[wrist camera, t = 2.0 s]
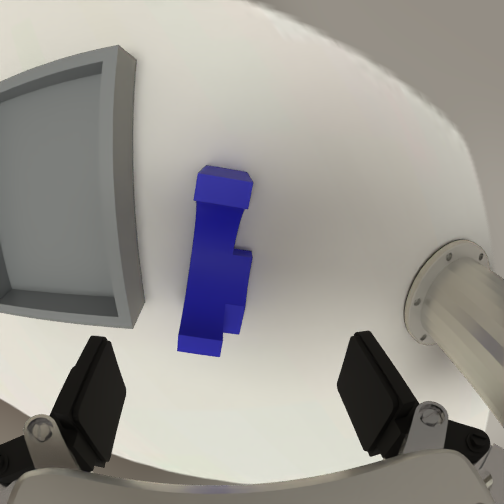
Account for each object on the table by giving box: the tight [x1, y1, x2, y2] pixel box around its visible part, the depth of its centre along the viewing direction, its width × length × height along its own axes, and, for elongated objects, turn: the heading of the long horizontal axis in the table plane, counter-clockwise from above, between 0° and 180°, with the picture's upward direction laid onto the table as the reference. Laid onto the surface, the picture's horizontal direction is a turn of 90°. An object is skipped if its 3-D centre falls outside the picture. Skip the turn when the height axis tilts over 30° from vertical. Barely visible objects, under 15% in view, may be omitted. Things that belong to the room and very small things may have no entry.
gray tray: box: [0, 45, 145, 329], centre depth 18 cm, size 16×20×4 cm
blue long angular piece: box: [177, 165, 253, 357], centre depth 20 cm, size 12×4×6 cm, turn 169°
